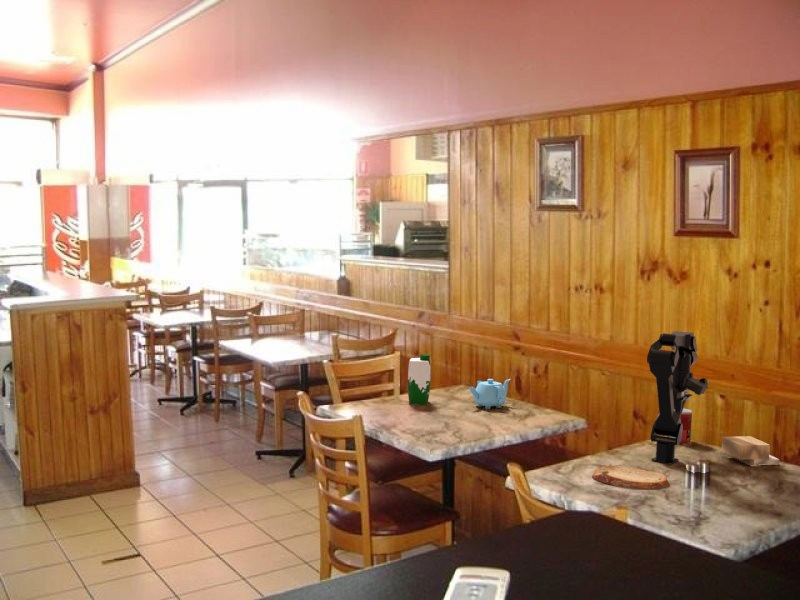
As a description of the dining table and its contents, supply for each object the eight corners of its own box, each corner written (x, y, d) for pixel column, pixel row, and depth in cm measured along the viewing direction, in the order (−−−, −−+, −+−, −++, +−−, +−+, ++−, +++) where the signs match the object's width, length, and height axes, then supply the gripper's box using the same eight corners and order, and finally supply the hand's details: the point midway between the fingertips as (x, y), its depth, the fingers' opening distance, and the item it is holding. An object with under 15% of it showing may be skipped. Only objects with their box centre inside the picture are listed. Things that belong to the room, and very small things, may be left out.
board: (750, 466, 272) (750, 460, 272) (727, 455, 285) (728, 449, 284) (779, 465, 274) (779, 459, 273) (755, 454, 286) (755, 448, 286)
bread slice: (674, 486, 251) (675, 473, 250) (629, 495, 242) (630, 482, 241) (629, 470, 266) (630, 458, 266) (585, 477, 257) (586, 465, 257)
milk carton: (428, 405, 351) (429, 356, 349) (406, 404, 352) (407, 355, 350) (430, 400, 359) (431, 353, 357) (409, 399, 361) (410, 352, 359)
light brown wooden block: (741, 445, 272) (770, 444, 273) (722, 436, 282) (750, 436, 284) (740, 459, 272) (769, 458, 274) (721, 450, 283) (749, 449, 285)
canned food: (691, 444, 298) (693, 413, 297) (667, 442, 299) (669, 411, 298) (688, 438, 305) (690, 408, 304) (665, 437, 307) (667, 406, 306)
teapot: (477, 401, 361) (478, 374, 360) (510, 404, 356) (510, 377, 355) (467, 408, 347) (468, 380, 345) (500, 412, 342) (501, 383, 341)
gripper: (692, 376, 274) (689, 424, 276) (716, 369, 288) (714, 415, 289) (659, 371, 282) (657, 418, 283) (685, 364, 295) (682, 409, 297)
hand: (678, 415), depth 288 cm, fingers closed
